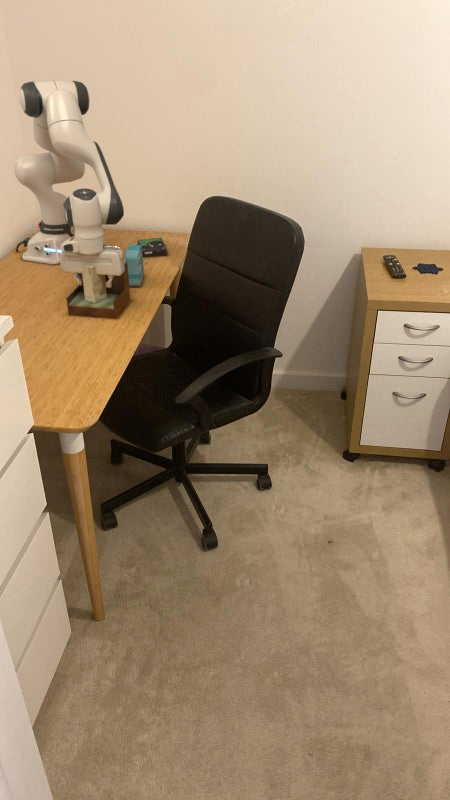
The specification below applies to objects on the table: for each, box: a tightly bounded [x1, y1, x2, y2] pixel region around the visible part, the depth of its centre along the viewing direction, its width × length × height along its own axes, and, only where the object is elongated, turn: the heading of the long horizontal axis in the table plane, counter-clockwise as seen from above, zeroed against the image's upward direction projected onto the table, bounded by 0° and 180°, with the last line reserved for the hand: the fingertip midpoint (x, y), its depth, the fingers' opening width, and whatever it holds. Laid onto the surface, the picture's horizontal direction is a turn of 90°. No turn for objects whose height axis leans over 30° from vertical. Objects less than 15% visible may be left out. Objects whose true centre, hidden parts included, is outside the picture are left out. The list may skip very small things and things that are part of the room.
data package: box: [124, 244, 145, 288], centre depth 231 cm, size 12×4×12 cm, turn 179°
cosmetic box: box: [81, 265, 107, 303], centre depth 207 cm, size 6×4×12 cm
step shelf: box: [66, 261, 131, 320], centre depth 211 cm, size 16×15×14 cm
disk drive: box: [137, 237, 168, 258], centre depth 261 cm, size 10×3×15 cm
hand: (94, 286), depth 208 cm, fingers open, 8 cm apart
